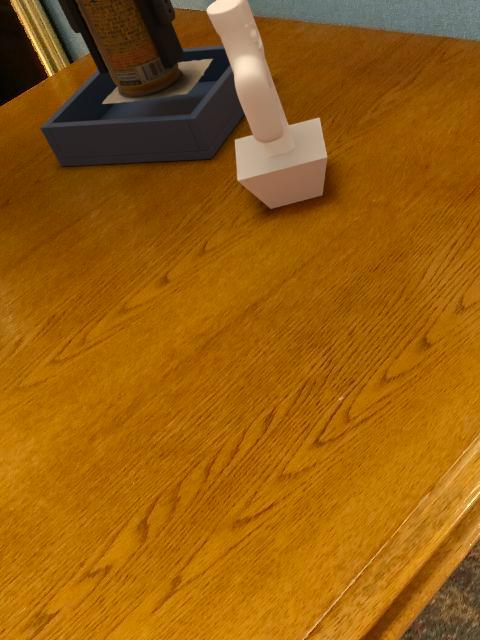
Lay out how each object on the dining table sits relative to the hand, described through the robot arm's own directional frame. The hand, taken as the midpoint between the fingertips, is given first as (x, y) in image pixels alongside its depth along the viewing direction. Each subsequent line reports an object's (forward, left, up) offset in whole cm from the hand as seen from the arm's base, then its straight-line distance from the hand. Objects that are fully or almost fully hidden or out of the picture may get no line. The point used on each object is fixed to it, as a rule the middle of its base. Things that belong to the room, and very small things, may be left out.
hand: (142, 63), depth 91 cm
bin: (0, 0, -6) cm, 6 cm away
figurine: (+18, -13, -6) cm, 23 cm away
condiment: (+1, 0, -2) cm, 2 cm away
